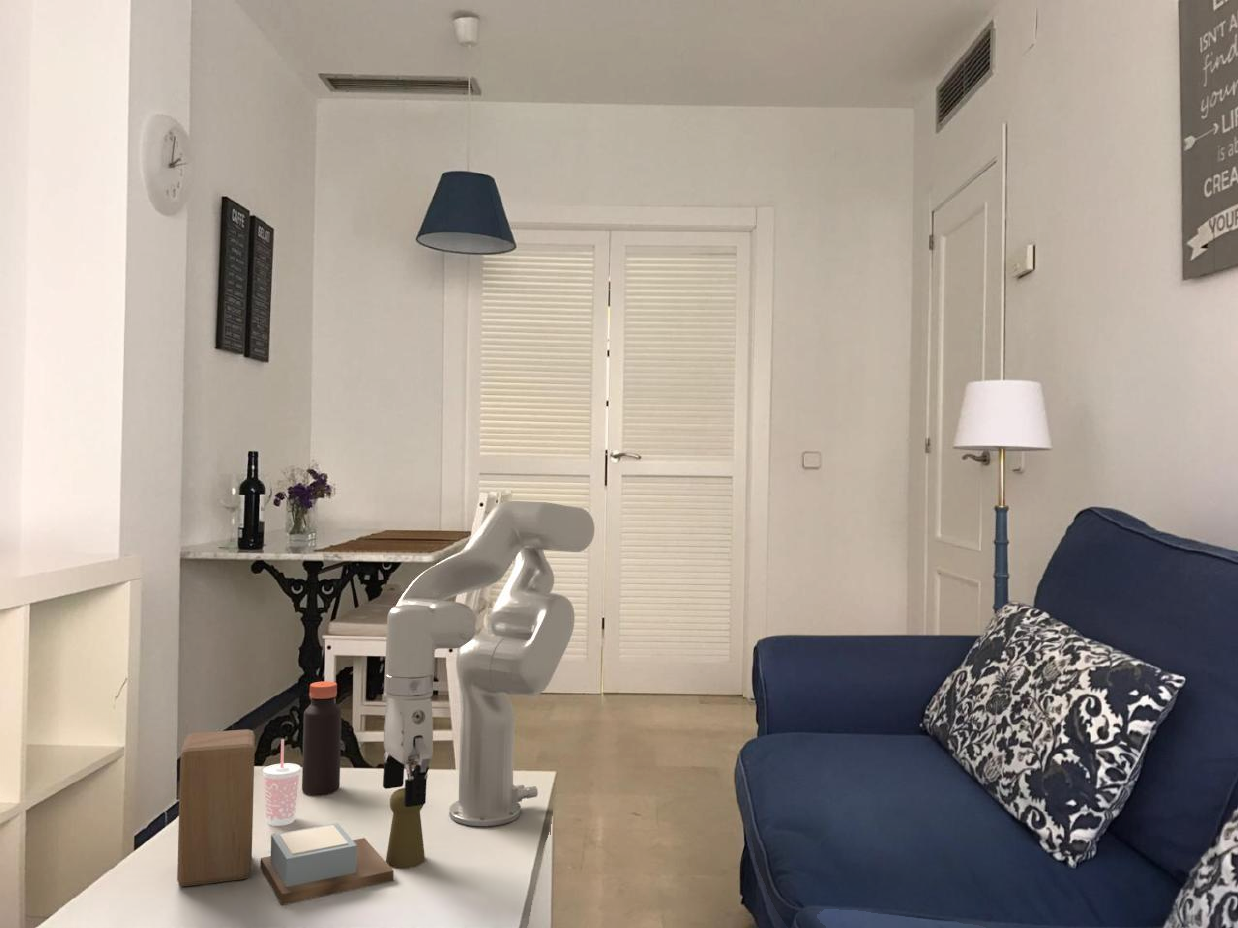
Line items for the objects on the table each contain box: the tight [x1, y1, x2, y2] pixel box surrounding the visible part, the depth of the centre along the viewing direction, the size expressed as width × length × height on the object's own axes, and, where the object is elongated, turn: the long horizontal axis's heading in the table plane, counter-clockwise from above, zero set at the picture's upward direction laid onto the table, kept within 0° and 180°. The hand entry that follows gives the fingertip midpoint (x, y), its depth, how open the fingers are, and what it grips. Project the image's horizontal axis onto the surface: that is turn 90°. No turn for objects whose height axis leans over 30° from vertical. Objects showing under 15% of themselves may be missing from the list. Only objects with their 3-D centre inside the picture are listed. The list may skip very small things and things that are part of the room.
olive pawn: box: [385, 787, 426, 870], centre depth 147 cm, size 6×6×11 cm
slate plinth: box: [270, 822, 357, 887], centre depth 141 cm, size 10×10×4 cm
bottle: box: [301, 680, 342, 797], centre depth 178 cm, size 7×7×20 cm
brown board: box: [259, 837, 394, 906], centre depth 142 cm, size 16×14×2 cm
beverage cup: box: [262, 738, 302, 827], centre depth 162 cm, size 6×6×14 cm
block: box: [176, 728, 256, 887], centre depth 142 cm, size 10×10×20 cm
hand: (403, 795), depth 147 cm, fingers open, 9 cm apart
